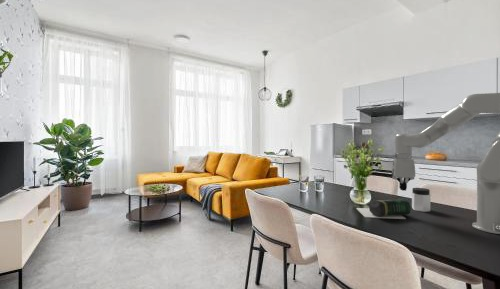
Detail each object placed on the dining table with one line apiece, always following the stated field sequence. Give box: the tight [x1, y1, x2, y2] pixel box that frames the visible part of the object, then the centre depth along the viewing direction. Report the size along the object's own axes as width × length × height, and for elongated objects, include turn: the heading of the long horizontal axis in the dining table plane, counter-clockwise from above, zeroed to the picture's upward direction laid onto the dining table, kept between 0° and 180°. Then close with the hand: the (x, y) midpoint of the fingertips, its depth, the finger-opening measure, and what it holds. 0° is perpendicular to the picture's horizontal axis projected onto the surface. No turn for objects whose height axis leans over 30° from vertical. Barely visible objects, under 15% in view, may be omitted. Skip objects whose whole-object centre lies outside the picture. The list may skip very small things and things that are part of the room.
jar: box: [411, 187, 431, 213], centre depth 137 cm, size 9×8×12 cm
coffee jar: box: [368, 198, 412, 216], centre depth 127 cm, size 10×8×19 cm
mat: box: [355, 207, 407, 220], centre depth 131 cm, size 16×20×1 cm
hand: (403, 190), depth 129 cm, fingers closed
